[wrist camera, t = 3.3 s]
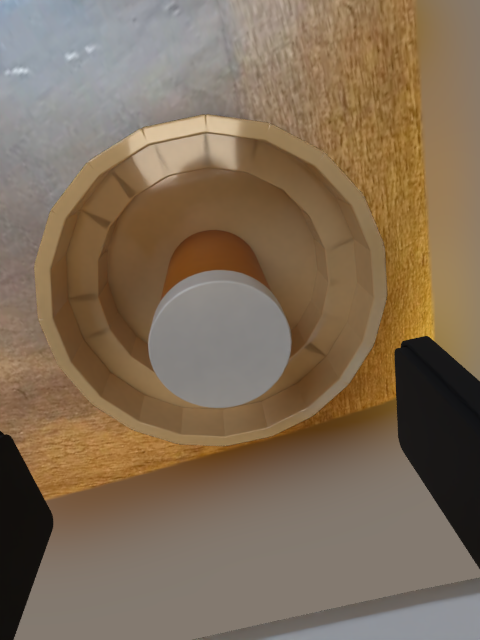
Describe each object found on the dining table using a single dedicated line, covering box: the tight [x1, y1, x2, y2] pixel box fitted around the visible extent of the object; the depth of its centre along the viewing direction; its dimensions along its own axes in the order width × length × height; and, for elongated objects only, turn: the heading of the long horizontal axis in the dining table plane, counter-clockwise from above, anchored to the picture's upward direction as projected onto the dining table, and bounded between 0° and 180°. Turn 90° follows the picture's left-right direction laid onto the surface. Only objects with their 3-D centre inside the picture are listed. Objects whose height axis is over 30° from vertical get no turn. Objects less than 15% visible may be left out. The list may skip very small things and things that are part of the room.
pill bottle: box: [148, 230, 292, 408], centre depth 18 cm, size 5×5×8 cm
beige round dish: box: [34, 114, 387, 446], centre depth 20 cm, size 14×14×5 cm
